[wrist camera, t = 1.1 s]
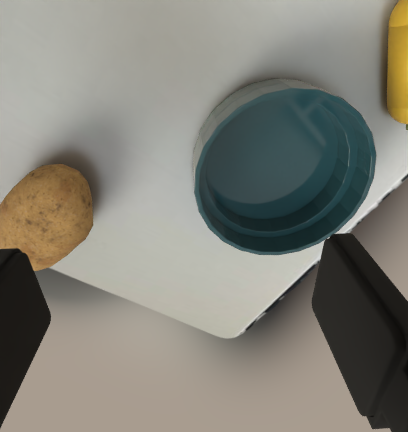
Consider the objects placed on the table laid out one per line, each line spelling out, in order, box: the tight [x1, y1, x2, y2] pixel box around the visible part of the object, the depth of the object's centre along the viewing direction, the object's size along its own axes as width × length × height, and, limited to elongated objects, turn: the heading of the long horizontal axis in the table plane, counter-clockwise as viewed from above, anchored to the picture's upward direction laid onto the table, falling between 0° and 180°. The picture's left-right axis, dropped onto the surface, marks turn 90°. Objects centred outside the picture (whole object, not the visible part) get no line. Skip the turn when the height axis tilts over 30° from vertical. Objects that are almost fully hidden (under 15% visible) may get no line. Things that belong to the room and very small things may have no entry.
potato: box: [0, 164, 93, 271], centre depth 36 cm, size 10×14×8 cm
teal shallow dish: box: [193, 78, 376, 255], centre depth 36 cm, size 19×19×6 cm
